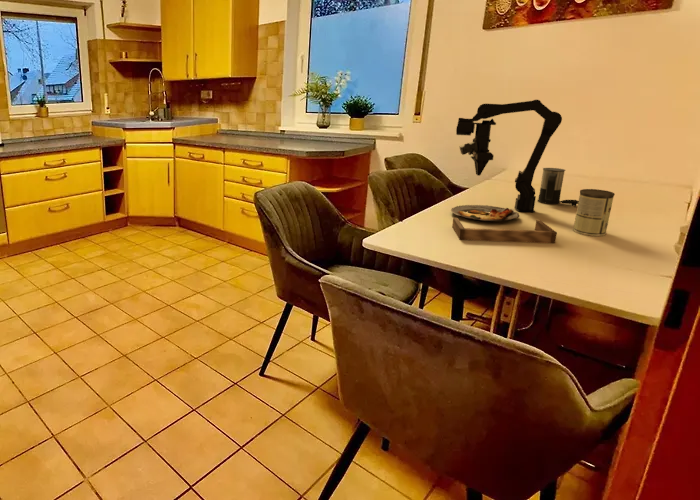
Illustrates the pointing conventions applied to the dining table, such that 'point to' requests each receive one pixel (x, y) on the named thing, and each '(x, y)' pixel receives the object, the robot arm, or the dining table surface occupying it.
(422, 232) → the dining table surface
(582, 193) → the coffee can
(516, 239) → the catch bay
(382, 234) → the dining table surface
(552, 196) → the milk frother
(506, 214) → the food plate
